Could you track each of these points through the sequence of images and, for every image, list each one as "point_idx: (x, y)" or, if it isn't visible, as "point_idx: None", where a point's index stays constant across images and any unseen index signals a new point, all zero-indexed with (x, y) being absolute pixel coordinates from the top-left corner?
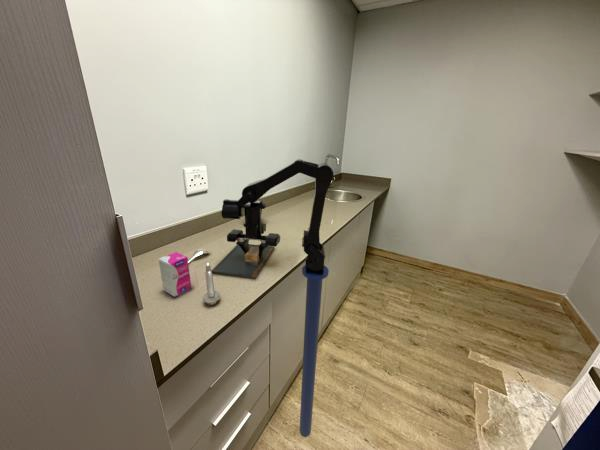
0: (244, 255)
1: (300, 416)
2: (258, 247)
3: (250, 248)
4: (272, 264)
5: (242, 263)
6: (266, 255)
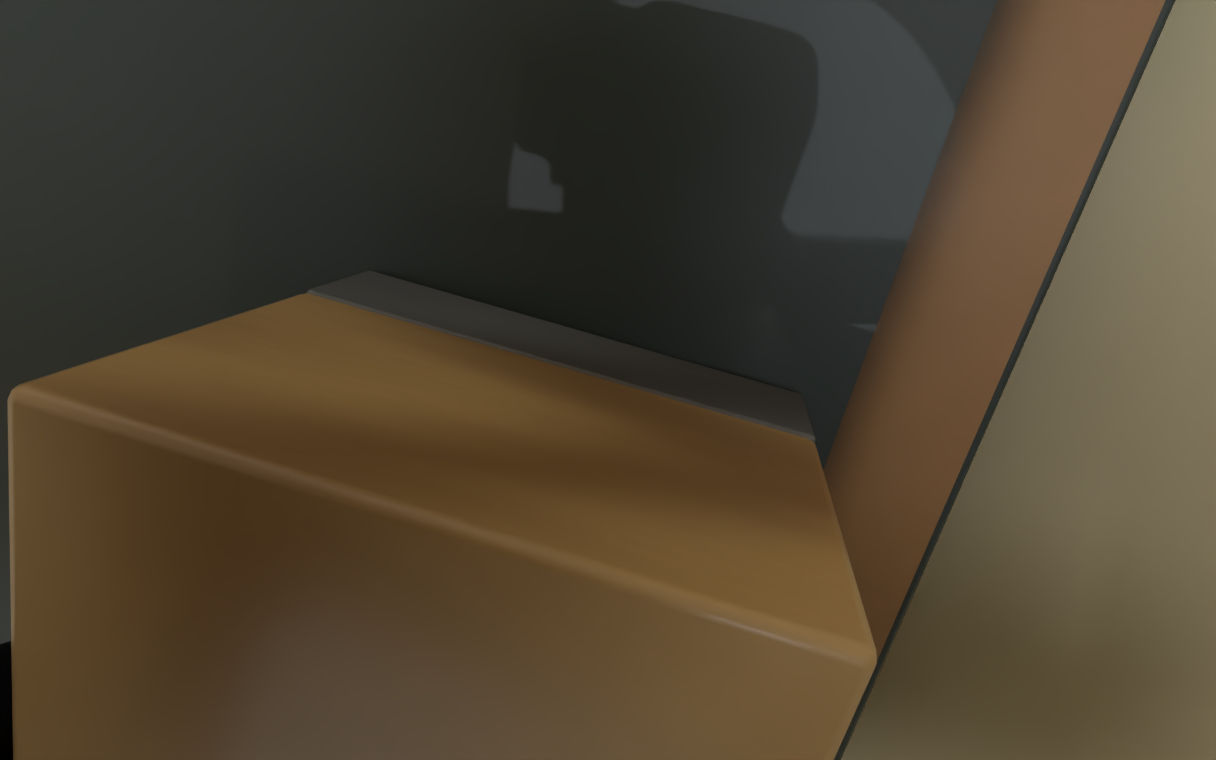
0: (95, 249)
1: None
2: (507, 594)
3: (17, 676)
4: (1096, 706)
5: None
6: (949, 269)
